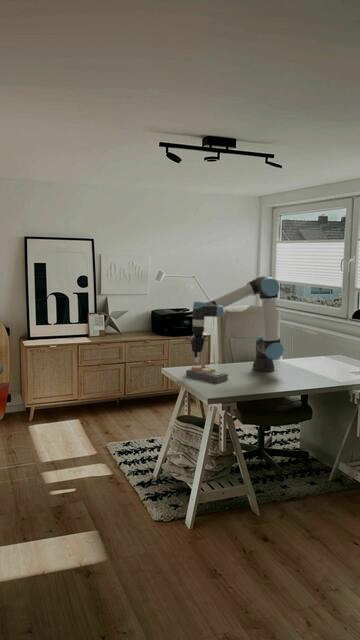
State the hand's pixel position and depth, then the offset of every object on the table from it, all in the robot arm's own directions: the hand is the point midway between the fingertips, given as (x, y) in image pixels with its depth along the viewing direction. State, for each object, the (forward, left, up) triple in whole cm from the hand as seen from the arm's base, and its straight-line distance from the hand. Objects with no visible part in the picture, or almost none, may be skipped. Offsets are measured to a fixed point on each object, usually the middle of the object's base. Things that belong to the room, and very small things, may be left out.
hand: (196, 361), depth 339 cm
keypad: (0, +8, -9) cm, 12 cm away
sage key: (0, +16, -8) cm, 18 cm away
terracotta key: (0, 0, -6) cm, 6 cm away
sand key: (0, +8, -6) cm, 10 cm away
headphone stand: (-16, -6, -10) cm, 20 cm away
